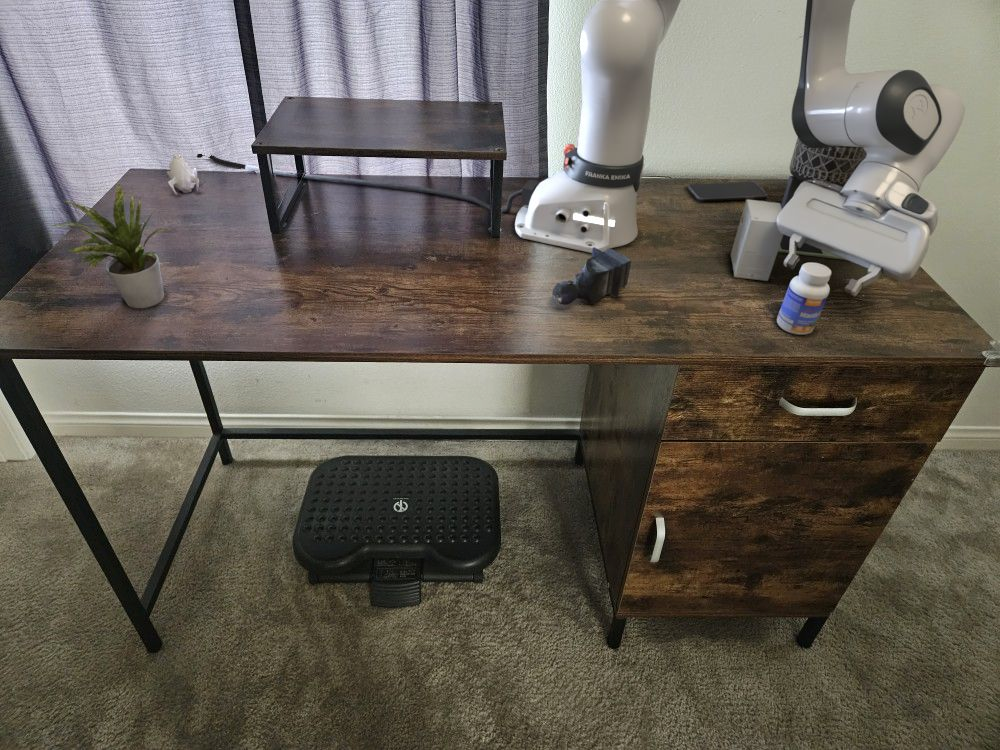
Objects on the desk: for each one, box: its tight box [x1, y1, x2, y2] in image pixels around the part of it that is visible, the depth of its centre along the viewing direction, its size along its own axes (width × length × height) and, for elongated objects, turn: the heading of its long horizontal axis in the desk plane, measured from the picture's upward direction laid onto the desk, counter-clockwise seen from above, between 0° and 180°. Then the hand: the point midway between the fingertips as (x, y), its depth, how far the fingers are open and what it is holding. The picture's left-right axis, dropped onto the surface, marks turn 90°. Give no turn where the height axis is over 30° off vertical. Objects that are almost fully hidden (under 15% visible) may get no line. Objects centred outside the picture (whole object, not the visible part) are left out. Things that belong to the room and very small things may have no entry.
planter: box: [780, 137, 867, 209], centre depth 121 cm, size 13×13×18 cm
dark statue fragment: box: [552, 247, 632, 306], centre depth 99 cm, size 6×13×6 cm, turn 130°
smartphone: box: [687, 180, 769, 203], centre depth 133 cm, size 7×1×15 cm
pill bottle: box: [776, 262, 832, 336], centre depth 94 cm, size 5×5×10 cm
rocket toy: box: [166, 150, 200, 196], centre depth 124 cm, size 5×5×8 cm
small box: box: [730, 199, 783, 282], centre depth 107 cm, size 8×6×10 cm
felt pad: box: [777, 234, 847, 261], centre depth 118 cm, size 14×10×1 cm
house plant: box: [51, 183, 170, 309], centre depth 93 cm, size 14×14×16 cm
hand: (818, 279), depth 94 cm, fingers open, 8 cm apart
